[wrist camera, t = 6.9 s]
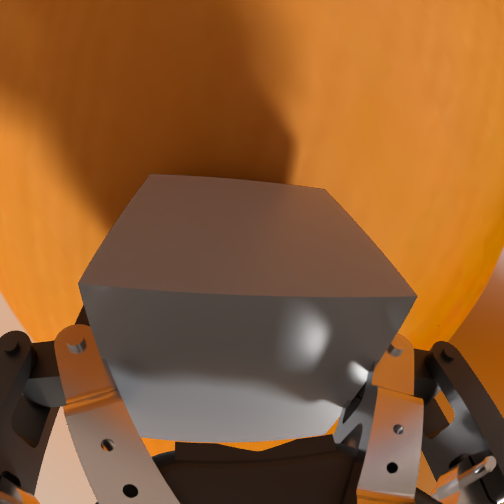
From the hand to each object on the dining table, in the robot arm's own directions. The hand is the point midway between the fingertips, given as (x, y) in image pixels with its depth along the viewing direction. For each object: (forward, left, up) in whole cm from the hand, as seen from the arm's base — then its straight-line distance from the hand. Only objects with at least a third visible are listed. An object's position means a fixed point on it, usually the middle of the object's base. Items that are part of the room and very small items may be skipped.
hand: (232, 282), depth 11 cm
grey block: (0, 0, -2) cm, 2 cm away
